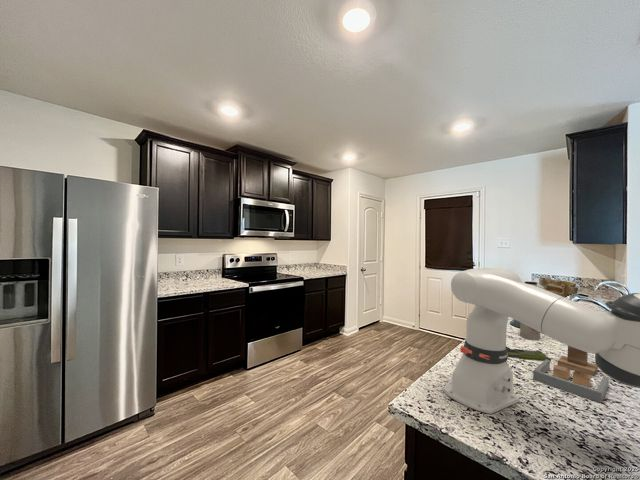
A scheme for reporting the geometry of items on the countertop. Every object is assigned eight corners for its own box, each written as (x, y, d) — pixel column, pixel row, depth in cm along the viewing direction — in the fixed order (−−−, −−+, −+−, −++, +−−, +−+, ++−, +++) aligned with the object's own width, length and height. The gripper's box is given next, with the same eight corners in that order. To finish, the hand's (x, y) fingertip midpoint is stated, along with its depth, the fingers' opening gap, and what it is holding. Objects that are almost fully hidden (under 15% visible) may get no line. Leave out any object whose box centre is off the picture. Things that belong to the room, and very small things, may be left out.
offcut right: (589, 387, 88) (589, 378, 88) (572, 382, 91) (572, 374, 91) (590, 383, 90) (590, 375, 90) (574, 379, 93) (574, 370, 93)
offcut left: (568, 381, 92) (568, 372, 92) (553, 376, 95) (553, 367, 95) (570, 377, 94) (570, 369, 94) (555, 372, 97) (555, 364, 97)
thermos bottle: (542, 341, 128) (544, 283, 128) (523, 338, 131) (524, 282, 131) (536, 335, 135) (537, 281, 135) (517, 333, 138) (518, 280, 138)
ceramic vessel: (593, 295, 202) (581, 270, 197) (576, 317, 197) (564, 292, 191) (558, 289, 224) (546, 266, 218) (542, 308, 218) (530, 286, 212)
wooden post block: (594, 376, 95) (594, 337, 95) (557, 365, 103) (558, 329, 103) (597, 370, 100) (598, 333, 100) (562, 360, 108) (563, 326, 108)
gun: (531, 348, 120) (553, 364, 106) (485, 344, 124) (500, 359, 109) (531, 343, 120) (553, 358, 106) (485, 338, 124) (500, 352, 109)
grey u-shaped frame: (601, 403, 79) (601, 393, 79) (533, 379, 92) (533, 370, 92) (608, 386, 88) (608, 377, 88) (545, 366, 102) (545, 359, 102)
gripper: (703, 339, 73) (627, 325, 84) (698, 325, 85) (632, 315, 96) (704, 316, 73) (627, 305, 84) (699, 306, 85) (632, 298, 96)
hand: (630, 310), depth 90 cm, fingers open, 8 cm apart
